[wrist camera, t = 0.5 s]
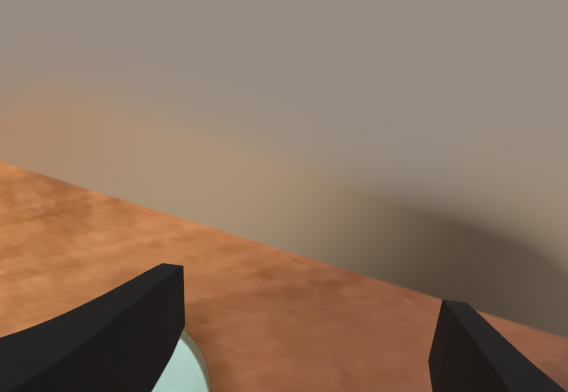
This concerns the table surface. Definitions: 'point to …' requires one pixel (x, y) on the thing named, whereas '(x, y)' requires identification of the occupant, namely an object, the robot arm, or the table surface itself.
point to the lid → (182, 372)
